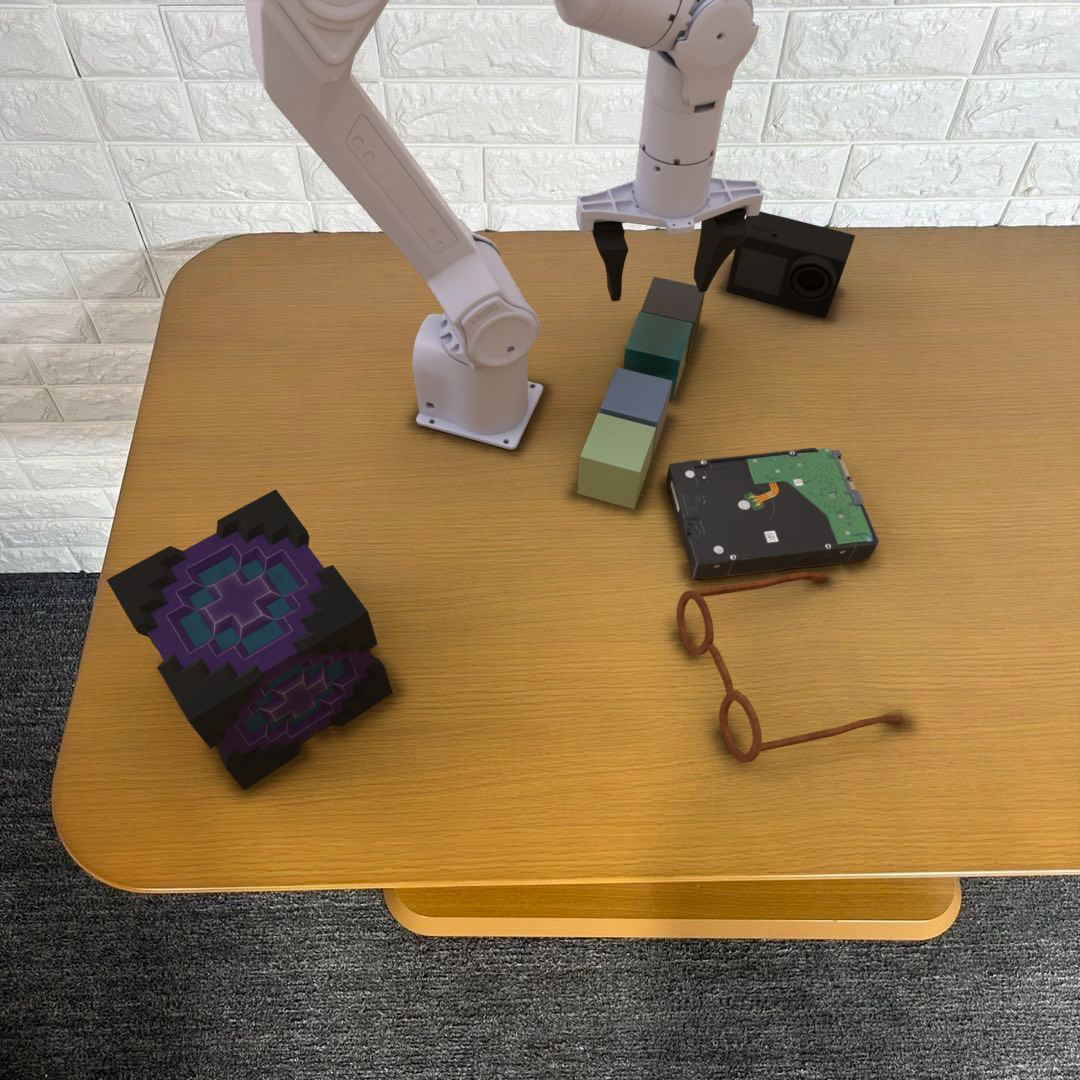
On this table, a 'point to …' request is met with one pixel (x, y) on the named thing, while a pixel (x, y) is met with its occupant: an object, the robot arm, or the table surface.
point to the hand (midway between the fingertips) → (657, 289)
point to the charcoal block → (675, 303)
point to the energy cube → (255, 637)
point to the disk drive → (769, 512)
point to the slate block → (638, 399)
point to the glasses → (730, 693)
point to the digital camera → (789, 263)
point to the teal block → (658, 347)
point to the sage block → (615, 460)
